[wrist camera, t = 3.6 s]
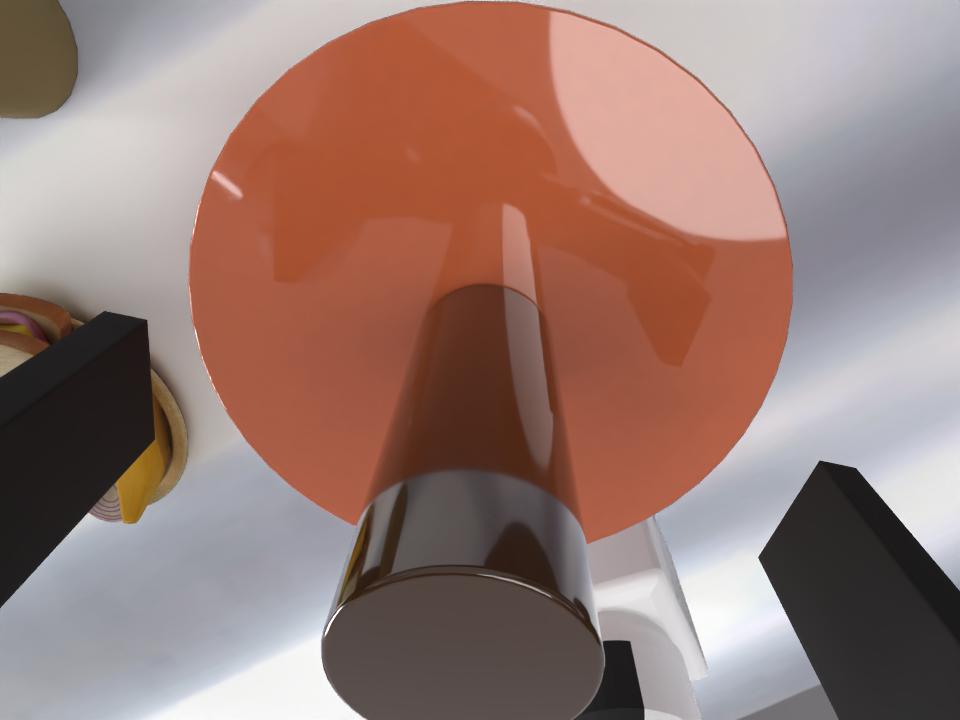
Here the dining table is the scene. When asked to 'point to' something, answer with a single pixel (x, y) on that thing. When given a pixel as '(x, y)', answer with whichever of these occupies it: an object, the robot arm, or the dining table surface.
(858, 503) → the robot arm
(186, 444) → the toy sandwich meal
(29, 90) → the olive pawn figure
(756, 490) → the dining table surface
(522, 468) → the lid
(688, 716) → the container
